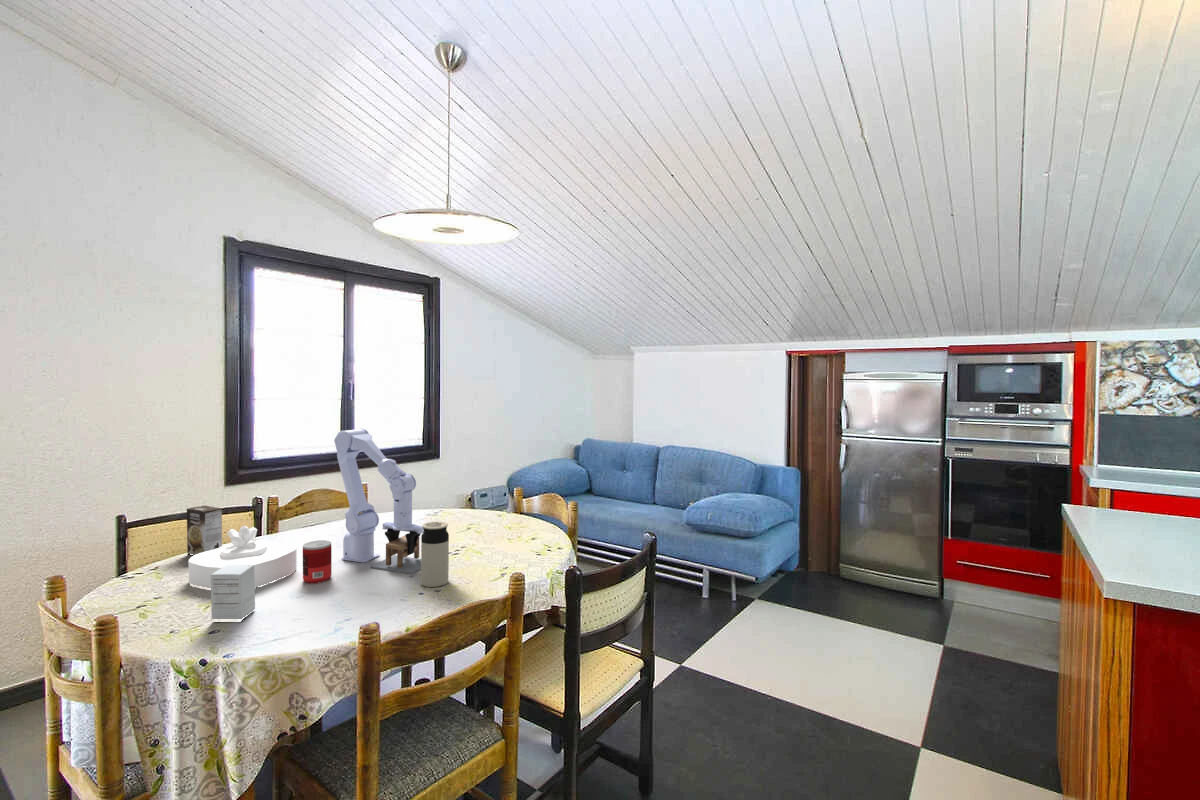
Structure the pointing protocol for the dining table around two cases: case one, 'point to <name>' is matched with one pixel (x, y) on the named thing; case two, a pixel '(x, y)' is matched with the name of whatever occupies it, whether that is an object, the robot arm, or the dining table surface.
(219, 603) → the supplement box
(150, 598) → the dining table surface
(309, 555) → the canned food
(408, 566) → the mat
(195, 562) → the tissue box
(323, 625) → the dining table surface
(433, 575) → the travel mug
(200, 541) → the coffee box
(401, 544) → the stool
